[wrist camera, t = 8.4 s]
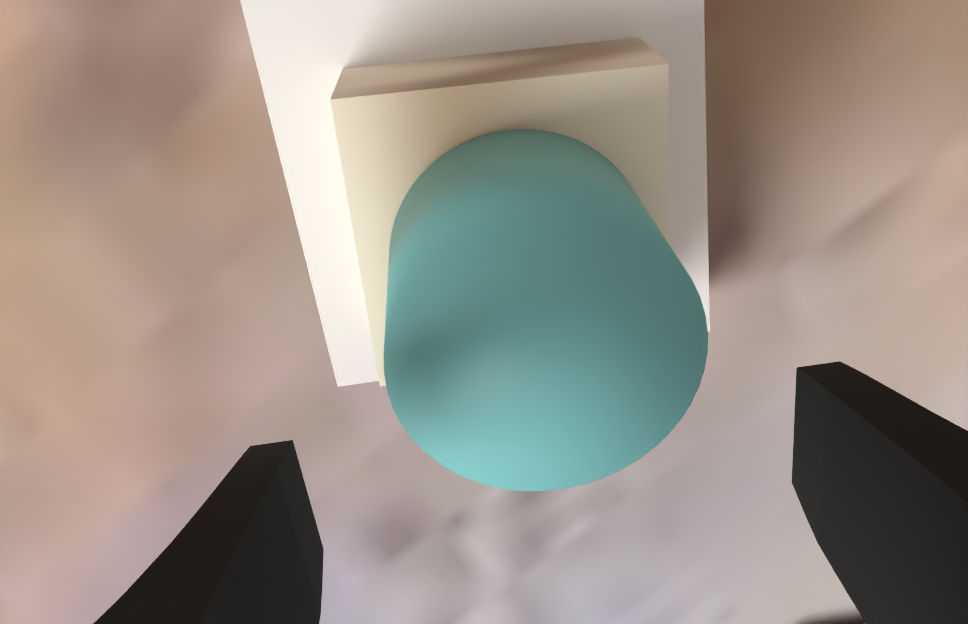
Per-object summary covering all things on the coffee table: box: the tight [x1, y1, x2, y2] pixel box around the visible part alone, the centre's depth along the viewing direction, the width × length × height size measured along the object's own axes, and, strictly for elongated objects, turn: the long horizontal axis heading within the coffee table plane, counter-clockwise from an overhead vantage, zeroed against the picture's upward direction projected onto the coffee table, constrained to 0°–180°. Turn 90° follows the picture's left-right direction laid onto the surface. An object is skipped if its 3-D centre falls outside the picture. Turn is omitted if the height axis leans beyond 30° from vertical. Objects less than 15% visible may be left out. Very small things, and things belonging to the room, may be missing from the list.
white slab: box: [240, 0, 710, 387], centre depth 20 cm, size 9×9×2 cm
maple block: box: [330, 37, 669, 386], centre depth 18 cm, size 6×6×2 cm
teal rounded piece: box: [384, 129, 708, 491], centre depth 15 cm, size 5×5×4 cm
